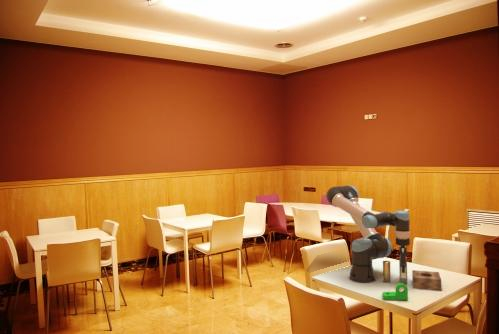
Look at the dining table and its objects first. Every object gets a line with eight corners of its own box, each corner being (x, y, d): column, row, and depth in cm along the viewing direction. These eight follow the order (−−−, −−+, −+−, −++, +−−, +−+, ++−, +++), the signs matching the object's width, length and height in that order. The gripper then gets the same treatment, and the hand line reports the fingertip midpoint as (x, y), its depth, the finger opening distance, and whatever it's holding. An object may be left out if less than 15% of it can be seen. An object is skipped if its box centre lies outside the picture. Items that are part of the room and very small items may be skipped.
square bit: (399, 284, 219) (399, 258, 219) (399, 281, 223) (399, 256, 223) (407, 284, 218) (406, 258, 217) (407, 282, 222) (406, 256, 221)
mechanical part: (404, 295, 202) (404, 280, 202) (407, 299, 196) (407, 284, 196) (381, 295, 204) (380, 280, 203) (383, 299, 198) (383, 284, 197)
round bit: (383, 282, 223) (382, 262, 222) (383, 280, 226) (383, 260, 226) (390, 283, 221) (390, 262, 221) (390, 281, 225) (390, 260, 224)
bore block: (413, 288, 212) (413, 277, 212) (412, 280, 225) (412, 270, 225) (441, 290, 207) (441, 279, 207) (438, 282, 220) (438, 272, 220)
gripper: (410, 243, 207) (410, 281, 207) (409, 233, 230) (409, 268, 230) (395, 242, 209) (396, 280, 210) (395, 233, 233) (396, 267, 233)
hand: (403, 274), depth 220 cm, fingers open, 13 cm apart
